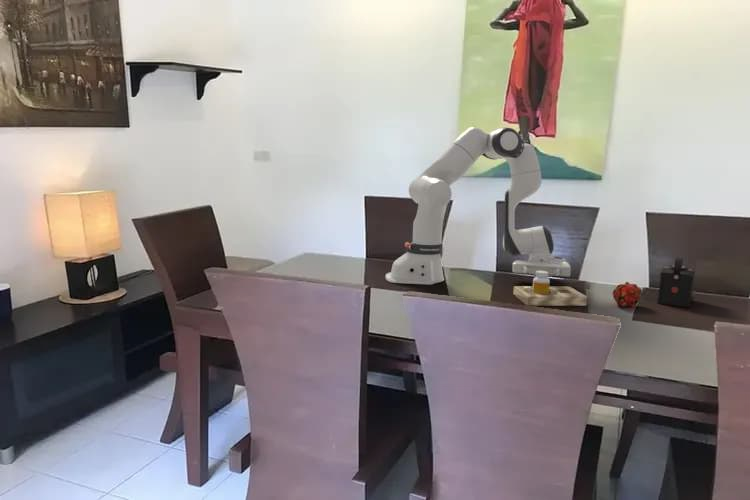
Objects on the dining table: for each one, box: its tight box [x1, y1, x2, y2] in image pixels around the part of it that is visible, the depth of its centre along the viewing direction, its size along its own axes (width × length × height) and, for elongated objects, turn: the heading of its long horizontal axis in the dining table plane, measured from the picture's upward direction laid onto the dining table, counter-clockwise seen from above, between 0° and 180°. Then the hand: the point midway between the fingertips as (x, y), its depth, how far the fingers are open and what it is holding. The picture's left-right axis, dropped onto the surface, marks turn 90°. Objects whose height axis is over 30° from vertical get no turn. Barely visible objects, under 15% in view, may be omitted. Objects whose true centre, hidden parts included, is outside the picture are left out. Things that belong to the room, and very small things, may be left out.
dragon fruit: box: [612, 281, 643, 308], centre depth 185 cm, size 8×8×12 cm
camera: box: [657, 257, 696, 308], centre depth 192 cm, size 11×14×15 cm
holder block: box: [512, 285, 588, 307], centre depth 191 cm, size 20×14×3 cm
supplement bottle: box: [532, 271, 551, 294], centre depth 191 cm, size 5×5×10 cm
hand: (541, 272), depth 199 cm, fingers open, 8 cm apart
